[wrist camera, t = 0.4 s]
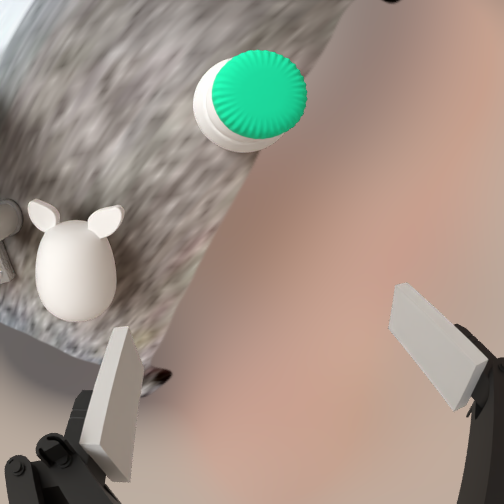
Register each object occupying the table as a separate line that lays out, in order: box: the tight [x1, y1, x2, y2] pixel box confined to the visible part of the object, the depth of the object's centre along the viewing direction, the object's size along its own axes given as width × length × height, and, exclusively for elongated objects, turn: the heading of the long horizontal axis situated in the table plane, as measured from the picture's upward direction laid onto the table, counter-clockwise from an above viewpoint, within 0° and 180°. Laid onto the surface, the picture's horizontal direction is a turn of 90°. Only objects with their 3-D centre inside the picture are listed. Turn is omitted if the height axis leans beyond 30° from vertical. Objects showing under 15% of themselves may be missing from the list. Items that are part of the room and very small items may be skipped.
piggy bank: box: [28, 199, 124, 322], centre depth 35 cm, size 12×12×15 cm
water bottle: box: [193, 50, 307, 153], centre depth 25 cm, size 7×7×25 cm
